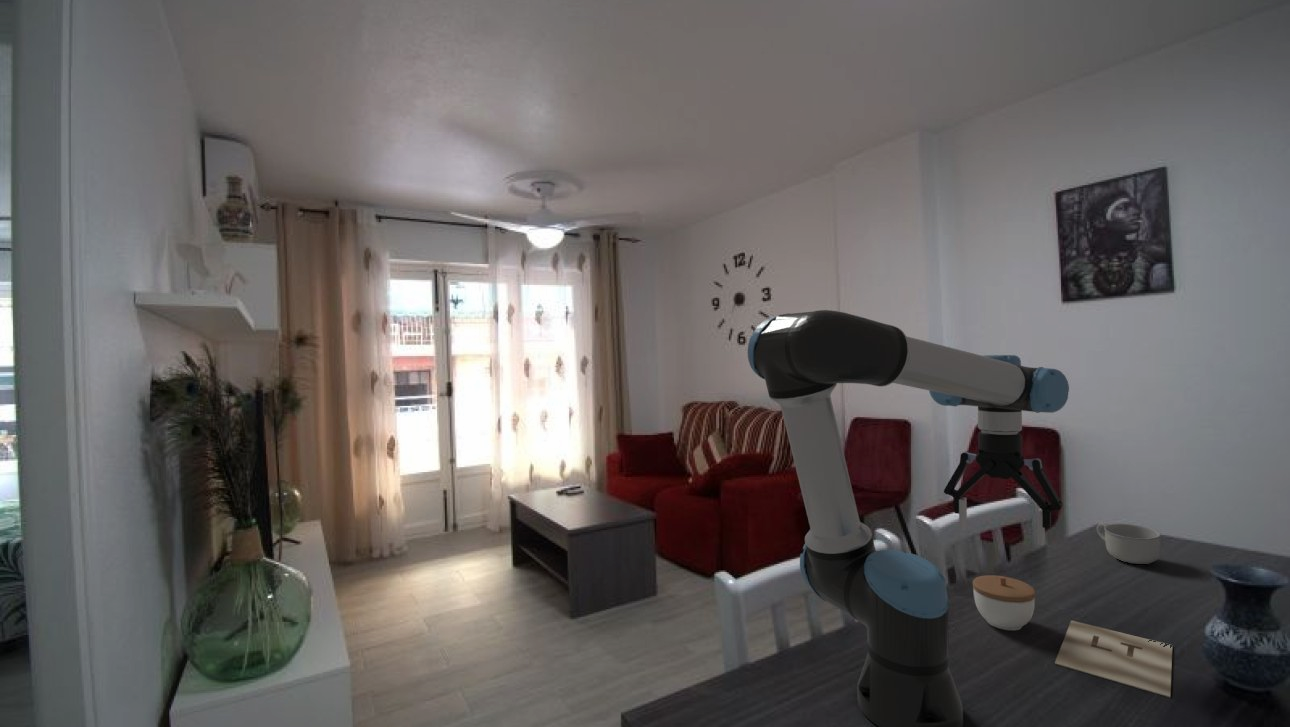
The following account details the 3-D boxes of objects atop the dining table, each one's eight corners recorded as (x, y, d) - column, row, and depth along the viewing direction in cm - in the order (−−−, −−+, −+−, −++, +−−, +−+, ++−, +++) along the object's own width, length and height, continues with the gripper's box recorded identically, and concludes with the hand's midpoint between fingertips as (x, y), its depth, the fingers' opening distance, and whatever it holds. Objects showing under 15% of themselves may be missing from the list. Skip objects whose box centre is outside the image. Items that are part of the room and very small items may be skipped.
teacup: (1173, 568, 138) (1172, 535, 138) (1129, 570, 138) (1129, 537, 138) (1123, 548, 152) (1123, 518, 152) (1084, 549, 152) (1083, 520, 152)
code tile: (1170, 697, 90) (1170, 696, 90) (1054, 663, 100) (1054, 662, 100) (1172, 646, 104) (1172, 644, 104) (1071, 621, 115) (1071, 620, 115)
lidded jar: (1046, 638, 109) (1045, 590, 109) (985, 634, 111) (984, 587, 111) (1021, 612, 119) (1020, 568, 119) (965, 609, 121) (964, 566, 121)
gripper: (1079, 434, 108) (1080, 544, 109) (938, 424, 125) (939, 520, 126) (1074, 439, 103) (1074, 555, 103) (927, 428, 120) (928, 528, 120)
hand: (1000, 536), depth 115 cm, fingers open, 13 cm apart
